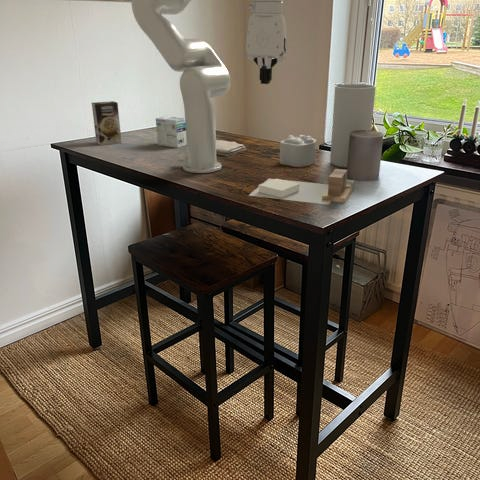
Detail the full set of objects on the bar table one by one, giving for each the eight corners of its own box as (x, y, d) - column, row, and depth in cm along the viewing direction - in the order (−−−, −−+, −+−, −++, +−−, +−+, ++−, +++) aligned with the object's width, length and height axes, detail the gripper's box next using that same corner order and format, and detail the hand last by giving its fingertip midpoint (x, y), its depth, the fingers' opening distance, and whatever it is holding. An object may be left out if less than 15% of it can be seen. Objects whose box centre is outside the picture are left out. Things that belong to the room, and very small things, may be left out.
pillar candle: (343, 174, 149) (347, 125, 142) (375, 173, 148) (380, 125, 142) (349, 183, 140) (353, 132, 134) (382, 183, 139) (388, 132, 133)
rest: (321, 202, 125) (322, 195, 124) (331, 189, 135) (331, 182, 134) (344, 204, 123) (345, 198, 122) (352, 191, 133) (353, 185, 132)
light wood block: (344, 197, 123) (346, 178, 121) (323, 194, 125) (324, 176, 123) (354, 182, 134) (355, 164, 132) (334, 180, 136) (335, 163, 134)
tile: (258, 184, 130) (281, 190, 125) (276, 178, 136) (299, 183, 131) (258, 192, 131) (281, 198, 126) (276, 185, 136) (299, 191, 131)
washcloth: (229, 157, 172) (229, 149, 170) (191, 151, 181) (191, 143, 180) (248, 151, 181) (248, 143, 179) (211, 145, 190) (210, 138, 189)
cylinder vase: (344, 170, 152) (350, 89, 142) (322, 161, 163) (327, 85, 153) (375, 166, 157) (384, 86, 147) (353, 157, 167) (359, 83, 157)
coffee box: (100, 145, 190) (94, 104, 184) (96, 142, 196) (90, 102, 189) (122, 142, 195) (117, 102, 188) (117, 140, 200) (113, 100, 193)
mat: (248, 197, 129) (248, 195, 129) (268, 180, 143) (268, 178, 143) (328, 206, 121) (328, 204, 121) (341, 187, 136) (341, 185, 135)
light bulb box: (188, 144, 190) (187, 117, 186) (178, 148, 185) (176, 120, 180) (168, 142, 195) (166, 115, 191) (157, 145, 190) (154, 117, 186)
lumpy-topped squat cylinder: (275, 162, 163) (276, 137, 159) (298, 155, 171) (298, 131, 168) (300, 168, 156) (301, 141, 153) (322, 160, 165) (323, 135, 161)
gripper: (235, 9, 123) (235, 83, 131) (290, 9, 118) (286, 86, 125) (247, 9, 129) (245, 80, 137) (299, 10, 124) (295, 83, 132)
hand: (265, 83), depth 131 cm, fingers closed
